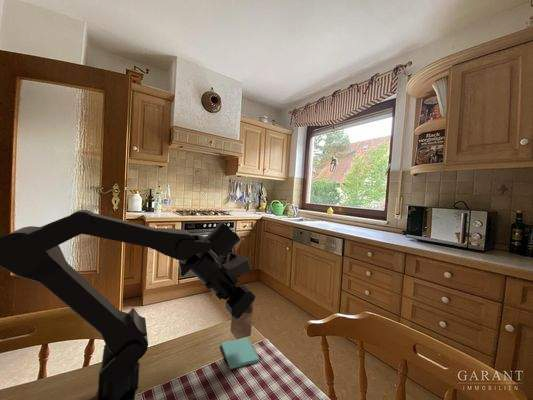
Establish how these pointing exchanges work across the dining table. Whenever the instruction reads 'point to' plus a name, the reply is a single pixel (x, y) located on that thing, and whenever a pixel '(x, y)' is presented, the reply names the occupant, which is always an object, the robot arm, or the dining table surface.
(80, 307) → the robot arm
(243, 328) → the walnut block
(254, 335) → the dining table surface
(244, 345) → the mat
